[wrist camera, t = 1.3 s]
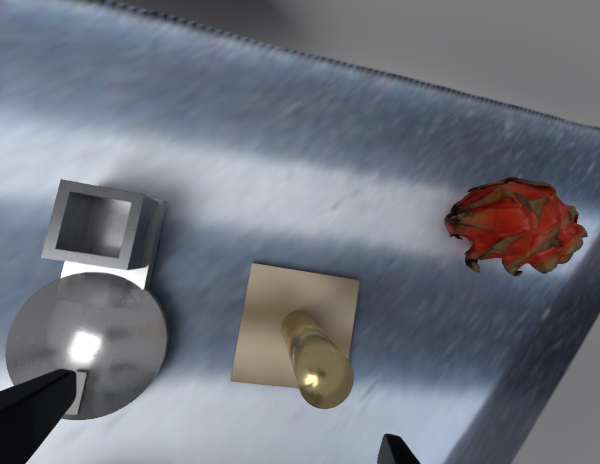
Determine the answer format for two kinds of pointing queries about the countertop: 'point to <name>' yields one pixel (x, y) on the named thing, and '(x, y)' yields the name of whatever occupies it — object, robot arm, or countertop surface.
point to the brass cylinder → (316, 362)
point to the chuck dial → (96, 300)
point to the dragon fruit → (516, 225)
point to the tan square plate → (277, 306)
